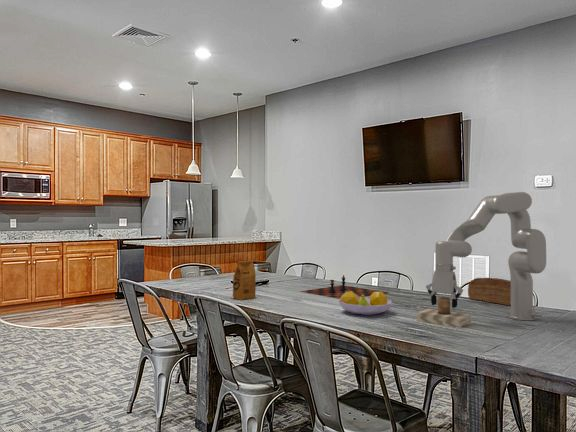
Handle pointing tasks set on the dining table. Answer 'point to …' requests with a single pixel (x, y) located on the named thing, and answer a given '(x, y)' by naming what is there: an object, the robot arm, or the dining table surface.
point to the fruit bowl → (365, 303)
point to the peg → (443, 305)
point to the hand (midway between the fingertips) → (444, 306)
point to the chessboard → (341, 290)
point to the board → (444, 318)
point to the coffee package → (244, 281)
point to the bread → (490, 290)
